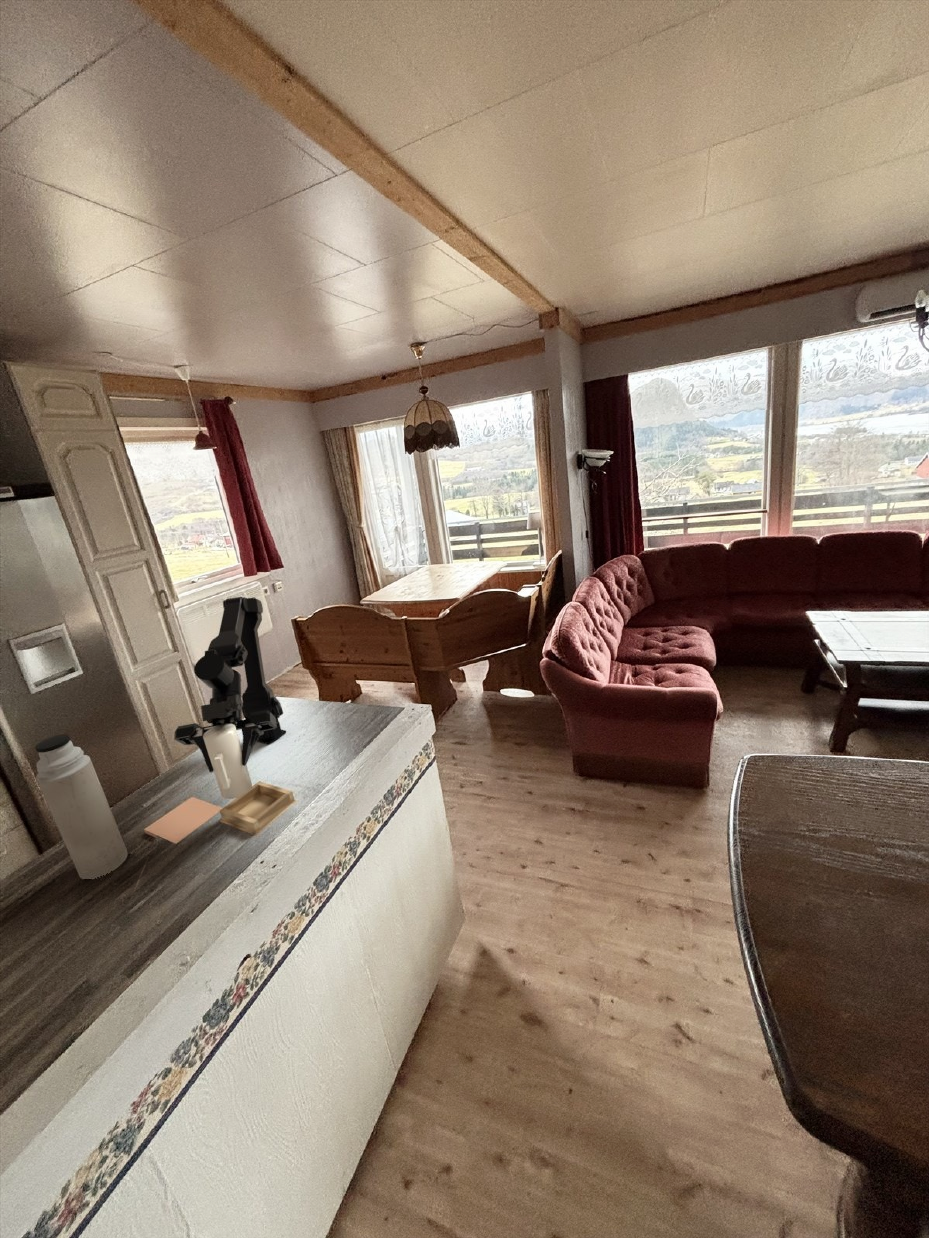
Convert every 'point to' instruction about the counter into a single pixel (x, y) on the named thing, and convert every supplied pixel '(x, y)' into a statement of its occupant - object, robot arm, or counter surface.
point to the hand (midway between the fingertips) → (227, 768)
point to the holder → (257, 807)
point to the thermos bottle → (79, 807)
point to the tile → (182, 820)
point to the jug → (227, 760)
